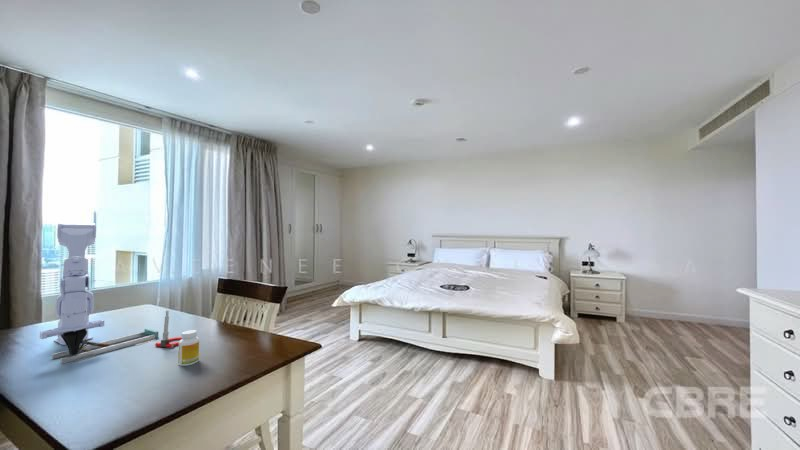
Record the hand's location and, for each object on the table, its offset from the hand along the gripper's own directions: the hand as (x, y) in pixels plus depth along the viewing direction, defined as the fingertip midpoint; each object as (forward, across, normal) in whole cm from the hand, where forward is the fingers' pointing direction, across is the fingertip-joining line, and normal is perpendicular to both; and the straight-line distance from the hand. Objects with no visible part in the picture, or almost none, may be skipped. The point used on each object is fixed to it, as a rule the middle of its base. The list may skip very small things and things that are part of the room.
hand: (73, 354), depth 100 cm
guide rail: (+1, +9, 0) cm, 9 cm away
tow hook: (+1, +22, -15) cm, 27 cm away
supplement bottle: (+1, +15, -37) cm, 40 cm away
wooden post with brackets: (+1, +5, 0) cm, 5 cm away
